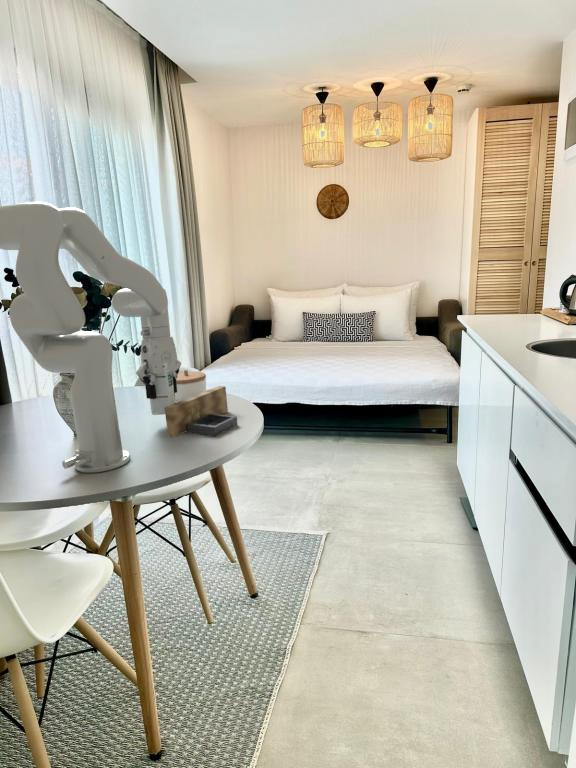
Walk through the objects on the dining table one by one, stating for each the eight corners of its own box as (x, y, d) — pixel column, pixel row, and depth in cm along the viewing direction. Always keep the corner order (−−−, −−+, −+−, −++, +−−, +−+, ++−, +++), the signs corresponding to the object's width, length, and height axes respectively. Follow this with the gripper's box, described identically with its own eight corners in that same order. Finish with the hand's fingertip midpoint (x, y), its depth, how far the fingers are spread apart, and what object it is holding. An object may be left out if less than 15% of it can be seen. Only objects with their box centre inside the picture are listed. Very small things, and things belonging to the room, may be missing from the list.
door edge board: (175, 436, 141) (172, 408, 139) (168, 435, 142) (164, 407, 140) (228, 411, 161) (226, 386, 159) (221, 410, 162) (219, 385, 160)
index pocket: (215, 436, 139) (214, 427, 138) (186, 432, 144) (185, 423, 143) (237, 425, 147) (236, 416, 147) (209, 421, 152) (208, 413, 152)
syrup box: (171, 414, 146) (166, 362, 143) (150, 415, 146) (145, 363, 143) (176, 409, 152) (172, 359, 149) (156, 410, 152) (151, 360, 149)
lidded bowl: (200, 407, 168) (196, 373, 165) (163, 407, 170) (159, 374, 168) (213, 397, 180) (210, 365, 177) (179, 397, 182) (175, 366, 180)
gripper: (142, 336, 135) (149, 403, 139) (187, 329, 150) (192, 390, 153) (122, 336, 139) (129, 401, 142) (168, 329, 154) (173, 388, 157)
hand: (162, 394), depth 148 cm, fingers closed on syrup box, 7 cm apart
